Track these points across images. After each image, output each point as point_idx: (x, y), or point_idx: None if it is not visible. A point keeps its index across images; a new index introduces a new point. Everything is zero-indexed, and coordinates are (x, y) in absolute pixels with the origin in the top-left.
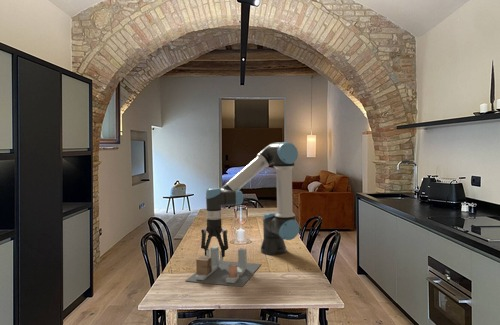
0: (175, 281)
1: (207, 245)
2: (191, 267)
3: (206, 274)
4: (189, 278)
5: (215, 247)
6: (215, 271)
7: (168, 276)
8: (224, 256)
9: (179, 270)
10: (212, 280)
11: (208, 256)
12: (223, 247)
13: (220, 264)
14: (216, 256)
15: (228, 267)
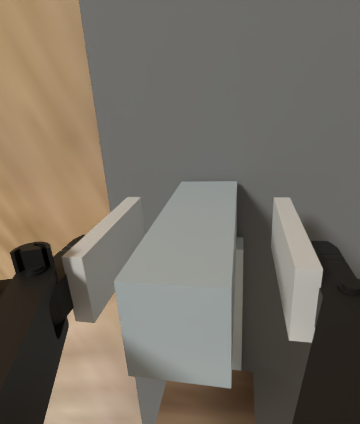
0: (95, 413)
1: (53, 381)
2: (31, 211)
3: None
4: (145, 400)
5: (193, 338)
6: (249, 283)
7: None
8: (328, 245)
9: (5, 278)
10: (290, 419)
11: (124, 253)
12: (354, 321)
13: (224, 108)
14: (234, 293)
15: (333, 173)
